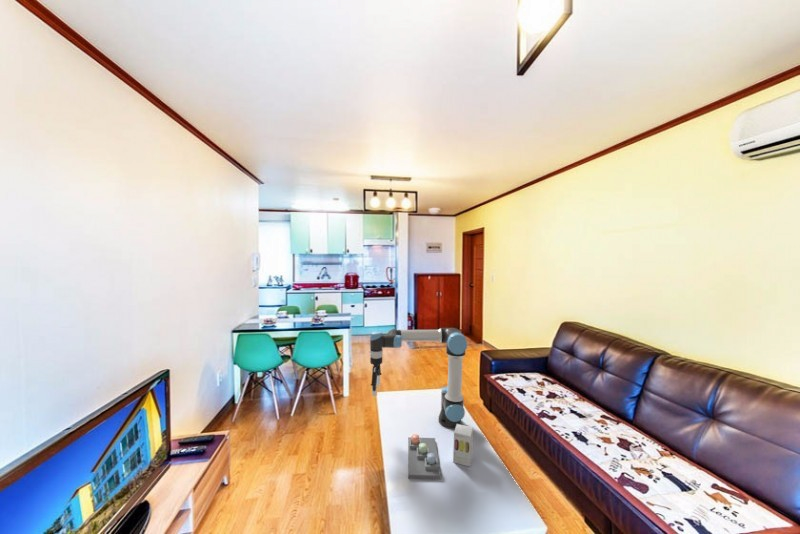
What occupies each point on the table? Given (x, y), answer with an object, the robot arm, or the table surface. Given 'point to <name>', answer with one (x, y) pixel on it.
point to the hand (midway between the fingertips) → (376, 390)
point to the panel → (422, 460)
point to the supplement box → (463, 445)
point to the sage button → (422, 448)
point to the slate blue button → (431, 458)
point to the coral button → (415, 439)
